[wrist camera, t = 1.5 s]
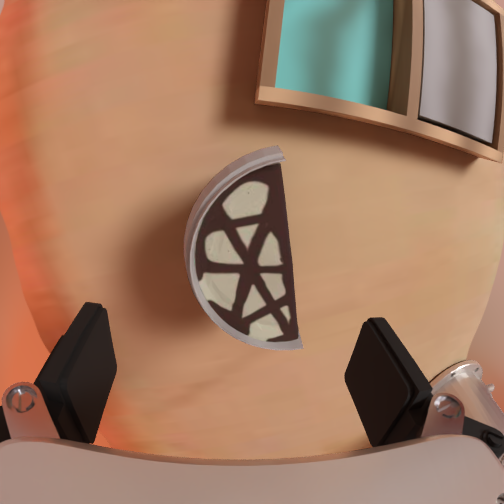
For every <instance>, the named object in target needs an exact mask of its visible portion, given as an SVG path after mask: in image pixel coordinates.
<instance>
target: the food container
mask: <svg viewBox="0 0 504 504" xmlns="http://www.w3.org/2000/svg"><path fill="white" fill-rule="evenodd" d="M282 161H286V160H285V158H284V157H283V152H282V151H281V150H280V148H279V147H278V145H277V146H273V147H268V148H264V149H260V150H257V151H255V152H252V153H250V154H247V155H245V156H242V157H241V158H239V159H237V160H236V161H234V162H232V163H231V164H229V165H227V166H226V167H225V168H224V169H223V170H222V171H220V172H219V173H218V174H217V175H216V176H215V177H213V179H212V180H211V181H210V182H209V183H208V184H207V186H206V187H205V188H204V189H203V190H202V192H201V194H200V195H199V197H198V199H197V200H196V202H195V204H194V205H193V208H192V210H191V213H190V216H189V218H188V221H187V225H186V230H185V236H184V258H185V264H186V270H187V275H188V279H189V282H190V285H191V288H192V291H193V293H194V295H195V297H196V299H197V301H198V302H199V304H200V306H201V307H202V308H203V310H204V311H205V312H206V313H207V315H208V316H209V317H210V318H211V319H212V321H213V322H214V323H215V324H217V325H218V326H219V327H220V328H221V329H222V330H223V331H225V332H226V333H228V334H229V335H231V336H233V337H234V338H236V339H238V340H240V341H242V342H245V343H247V344H249V345H253V346H256V347H260V348H264V349H271V350H297V349H303V344H302V341H301V337H300V334H299V330H298V325H297V315H296V302H295V291H294V277H293V264H292V255H291V247H290V239H289V229H288V220H287V211H286V203H285V194H284V186H283V179H282V172H281V164H280V163H279V162H282Z"/></svg>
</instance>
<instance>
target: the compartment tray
mask: <svg viewBox="0 0 504 504" xmlns="http://www.w3.org/2000/svg"><path fill="white" fill-rule="evenodd" d="M254 104H260V105H268V106H276V107H284V108H290V109H297V110H303V111H310V112H315V113H321V114H326V115H332V116H337V117H342V118H347V119H351V120H356V121H360V122H365V123H369V124H373V125H377V126H381V127H385V128H389V129H393V130H397V131H400V132H404V133H408V134H411V135H414V136H418V137H421V138H425V139H428V140H431V141H434V142H437V143H440V144H443V145H446V146H449V147H452V148H455V149H458V150H461V151H463V152H466V153H469V154H472V155H474V156H477V157H479V158H483V159H487V160H491V161H495V162H499V163H502V160H503V153H504V9H503V8H501V7H500V6H499V5H497V4H496V3H494V2H493V1H492V0H267V1H266V9H265V17H264V25H263V33H262V42H261V50H260V58H259V67H258V75H257V84H256V93H255V102H254ZM474 140H475V141H474Z"/></svg>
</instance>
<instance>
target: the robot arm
mask: <svg viewBox="0 0 504 504" xmlns="http://www.w3.org/2000/svg"><path fill="white" fill-rule="evenodd" d="M116 371H117V364H116V359H115V354H114V349H113V344H112V338H111V332H110V327H109V321H108V314H107V310H106V309H105V308H103V307H102V305H101V304H98V303H90V302H86V303H85V304H84V305H83V307H82V308H81V310H80V311H79V313H78V314H77V316H76V318H75V319H74V321H73V322H72V324H71V325H70V327H69V329H68V330H67V332H66V334H65V335H62V336H61V338H60V339H59V341H58V342H57V344H56V346H55V347H54V349H53V351H52V352H51V354H50V356H49V357H48V359H47V361H46V362H45V364H44V366H43V368H42V369H41V371H40V373H39V375H38V377H37V378H36V380H35V382H34V384H32V383H29V382H20V383H15V384H13V385H11V386H10V387H9V388H8V389H6V391H5V392H4V394H3V397H2V406H0V504H504V413H503V412H502V411H501V409H500V408H499V406H498V405H497V404H496V402H495V401H494V400H493V398H492V394H491V393H490V392H492V391H493V390H494V385H493V384H489V385H485V384H484V383H483V382H482V380H481V378H482V368H481V366H480V365H479V364H478V363H477V362H476V361H474V360H467V361H463V362H460V363H457V364H455V365H453V366H452V367H450V368H448V369H447V370H445V371H444V372H442V373H441V374H440V375H439V376H437V377H436V378H435V379H434V380H433V381H432V382H431V383H429V382H428V380H427V379H426V377H425V376H424V374H423V373H422V371H421V370H420V368H419V367H418V365H417V364H416V362H415V361H414V359H413V358H412V357H411V355H410V354H409V352H408V351H407V349H406V348H405V346H404V345H403V344H402V342H401V341H400V339H399V338H398V336H397V335H396V334H395V332H394V331H393V329H392V328H391V326H390V325H389V324H388V322H387V321H386V320H385V318H382V317H379V318H369V319H368V320H367V321H366V322H364V323H363V325H362V328H361V331H360V334H359V337H358V340H357V342H356V345H355V348H354V351H353V353H352V356H351V359H350V361H349V364H348V367H347V369H346V372H345V382H346V385H347V387H348V390H349V392H350V394H351V397H352V399H353V402H354V404H355V406H356V409H357V411H358V414H359V416H360V419H361V421H362V424H363V426H364V429H365V431H366V434H367V436H368V439H369V441H370V444H371V445H372V446H373V447H372V448H367V449H361V450H355V451H349V452H342V453H335V454H327V455H318V456H308V457H297V458H282V459H258V460H224V459H199V458H184V457H172V456H163V455H154V454H146V453H139V452H132V451H126V450H119V449H113V448H108V447H102V446H97V445H92V444H93V443H94V441H95V438H96V434H97V431H98V428H99V424H100V421H101V418H102V415H103V411H104V408H105V405H106V402H107V399H108V396H109V393H110V390H111V387H112V384H113V381H114V378H115V375H116ZM89 443H92V444H89Z"/></svg>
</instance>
